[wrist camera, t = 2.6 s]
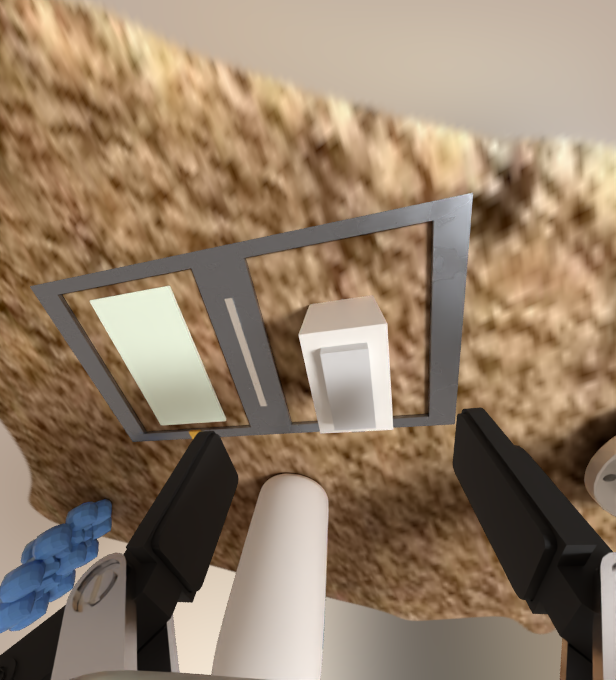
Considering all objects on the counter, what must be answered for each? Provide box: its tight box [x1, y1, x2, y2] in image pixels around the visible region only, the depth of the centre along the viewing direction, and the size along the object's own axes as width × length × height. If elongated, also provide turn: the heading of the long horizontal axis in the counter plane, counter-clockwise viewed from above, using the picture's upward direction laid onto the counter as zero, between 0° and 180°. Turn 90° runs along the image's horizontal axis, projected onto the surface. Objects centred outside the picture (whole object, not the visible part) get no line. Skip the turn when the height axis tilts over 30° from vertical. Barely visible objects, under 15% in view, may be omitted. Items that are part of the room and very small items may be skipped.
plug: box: [299, 295, 393, 433], centre depth 16 cm, size 5×7×6 cm, turn 11°
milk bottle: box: [211, 474, 328, 680], centre depth 18 cm, size 8×8×20 cm
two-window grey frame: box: [30, 193, 473, 442], centre depth 20 cm, size 32×17×1 cm, turn 101°
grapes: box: [0, 499, 112, 633], centre depth 27 cm, size 12×7×12 cm, turn 163°
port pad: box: [90, 286, 227, 425], centre depth 21 cm, size 7×13×1 cm, turn 11°
